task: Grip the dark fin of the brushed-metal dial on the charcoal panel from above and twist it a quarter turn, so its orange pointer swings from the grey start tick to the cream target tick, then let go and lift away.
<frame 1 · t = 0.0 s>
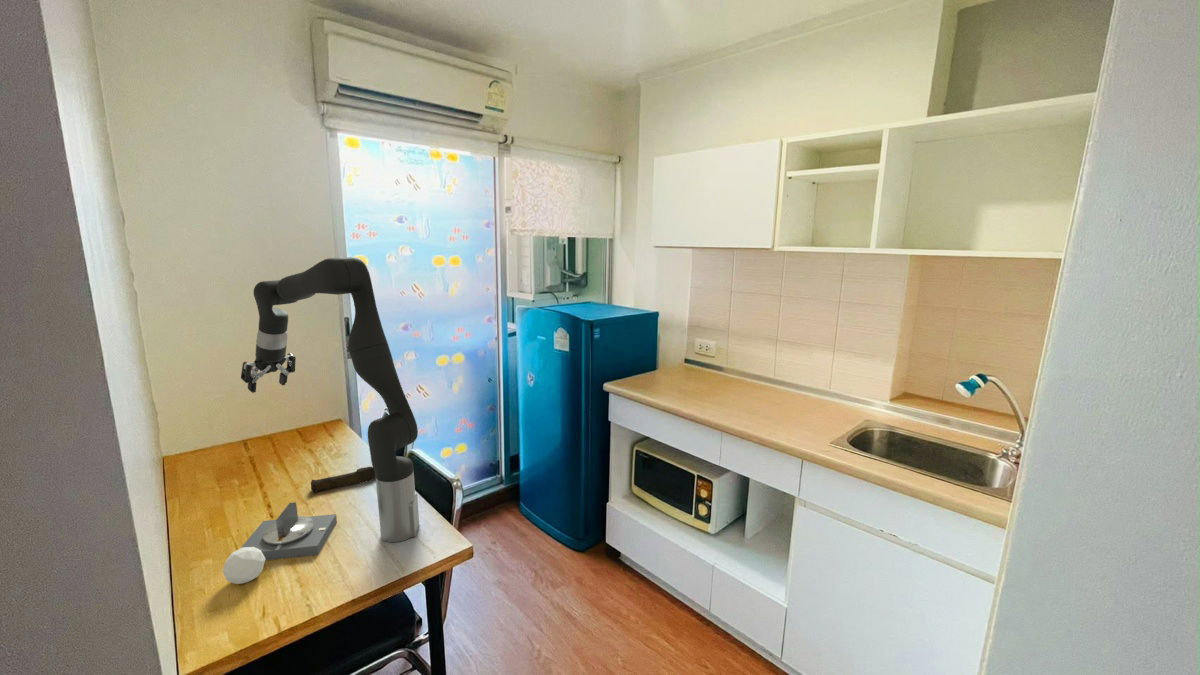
hand: (267, 387, 147), 31 cm above the table, tool tilted 20°, fingers open, 8 cm apart
hand tool: (346, 485, 152), on the table
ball: (246, 580, 110), on the table
dial knob: (287, 521, 122), point 6 cm above the table, hinge at 0.0°
dial panel: (290, 541, 123), on the table
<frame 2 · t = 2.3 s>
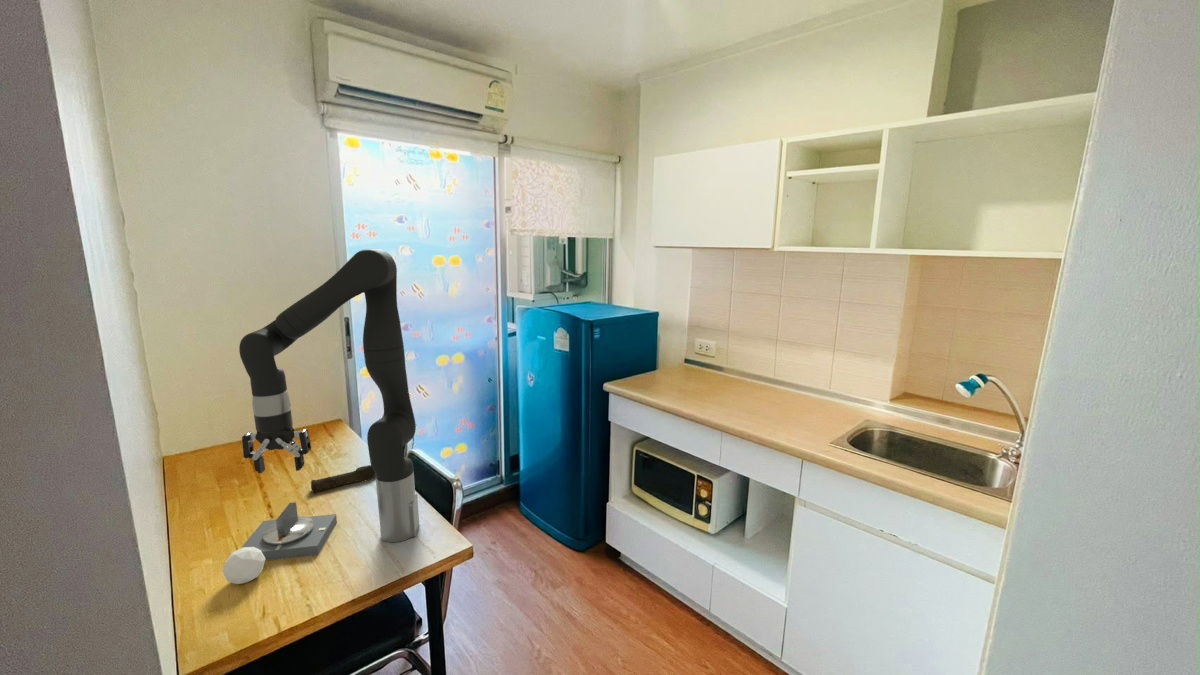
hand: (280, 470, 119), 20 cm above the table, tool pointing down, fingers open, 8 cm apart
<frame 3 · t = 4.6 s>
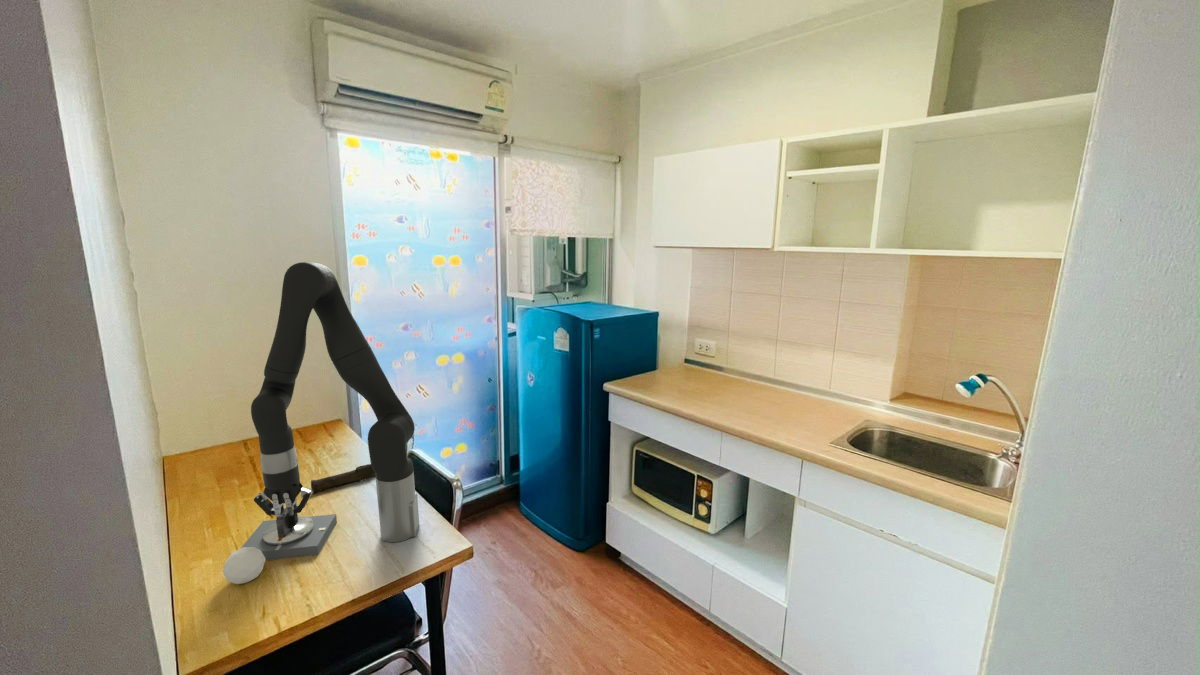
hand: (288, 526, 122), 4 cm above the table, tool pointing down, fingers closed
dial knob: (287, 521, 122), point 6 cm above the table, hinge at 0.0°, touching gripper
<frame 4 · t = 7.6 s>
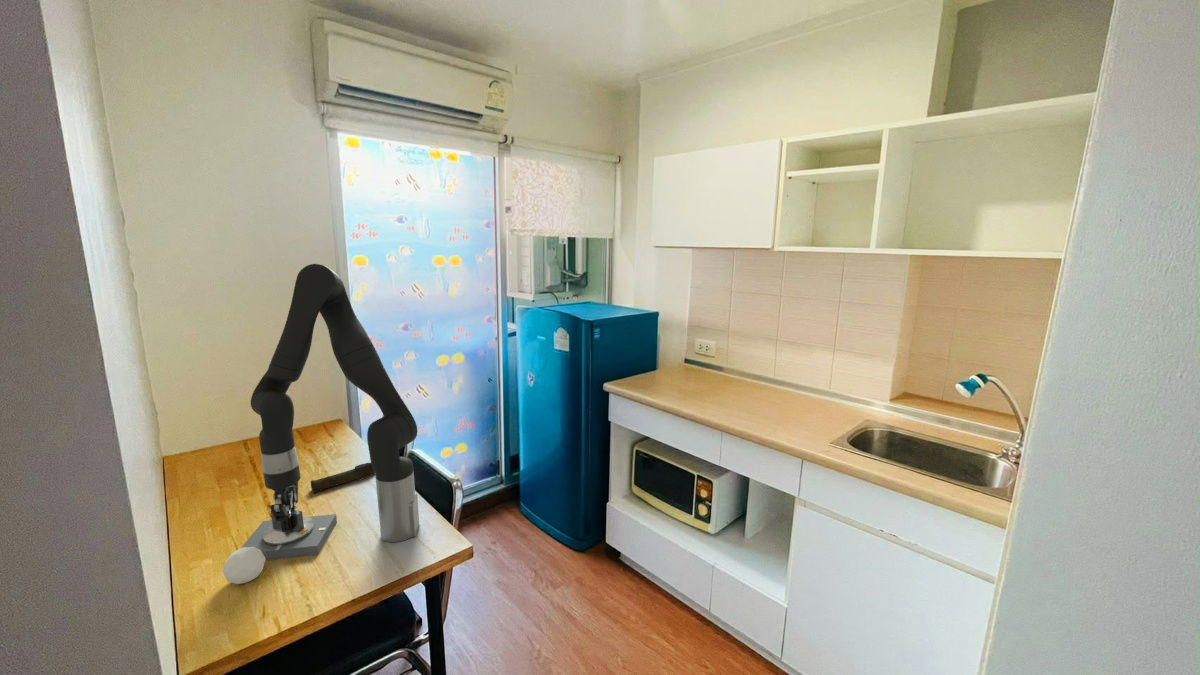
hand: (289, 526, 122), 4 cm above the table, tool pointing down, fingers closed on dial knob, 3 cm apart
dial knob: (287, 521, 122), point 6 cm above the table, hinge at 67.2°, touching gripper
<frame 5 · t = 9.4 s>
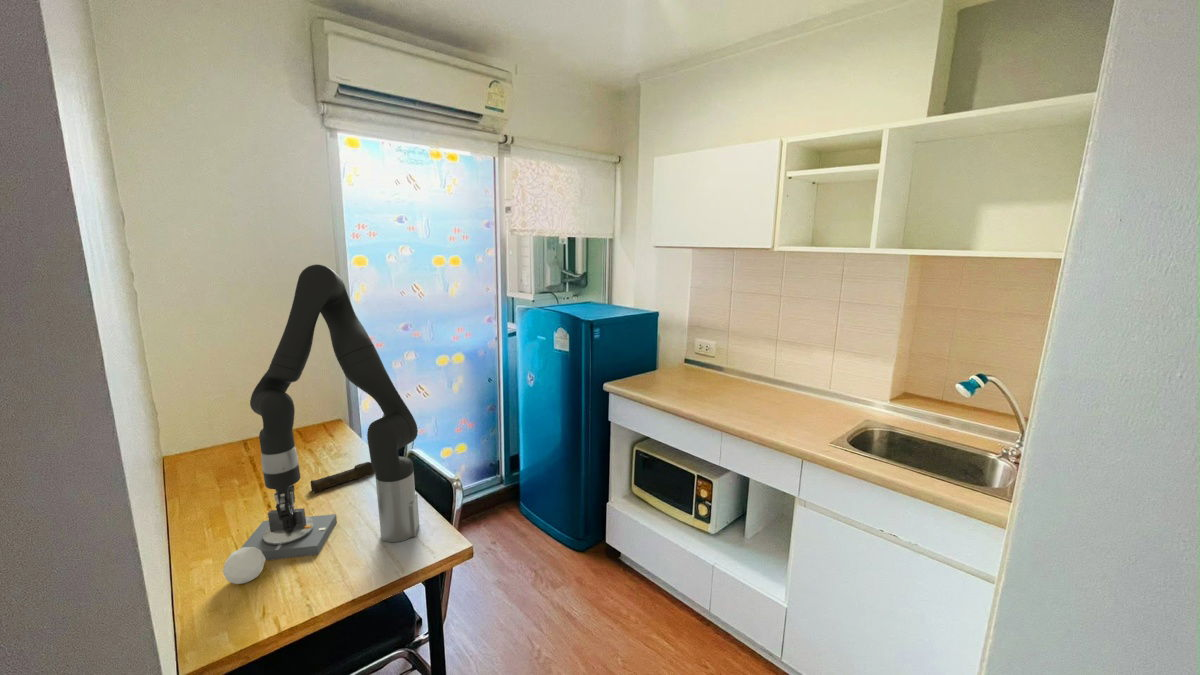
hand: (289, 526, 122), 4 cm above the table, tool pointing down, fingers closed on dial knob, 2 cm apart
dial knob: (287, 521, 122), point 6 cm above the table, hinge at 85.8°, touching gripper
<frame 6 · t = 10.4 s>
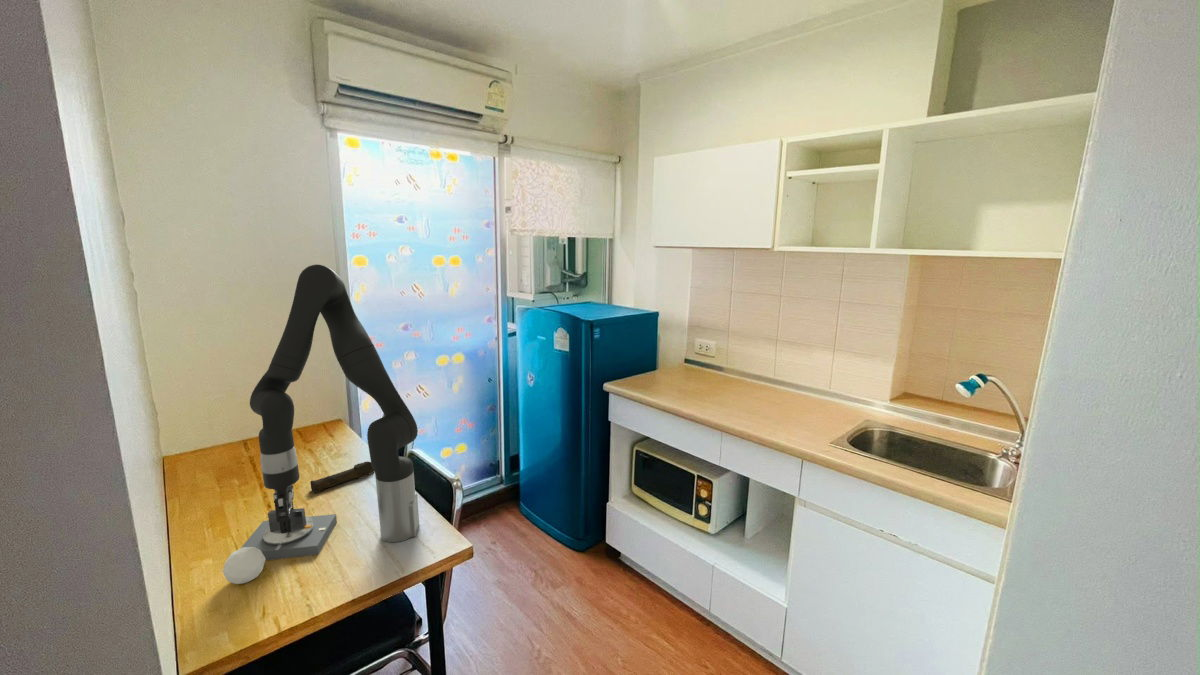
hand: (287, 523, 122), 5 cm above the table, tool pointing down, fingers open, 8 cm apart
dial knob: (287, 521, 122), point 6 cm above the table, hinge at 86.7°
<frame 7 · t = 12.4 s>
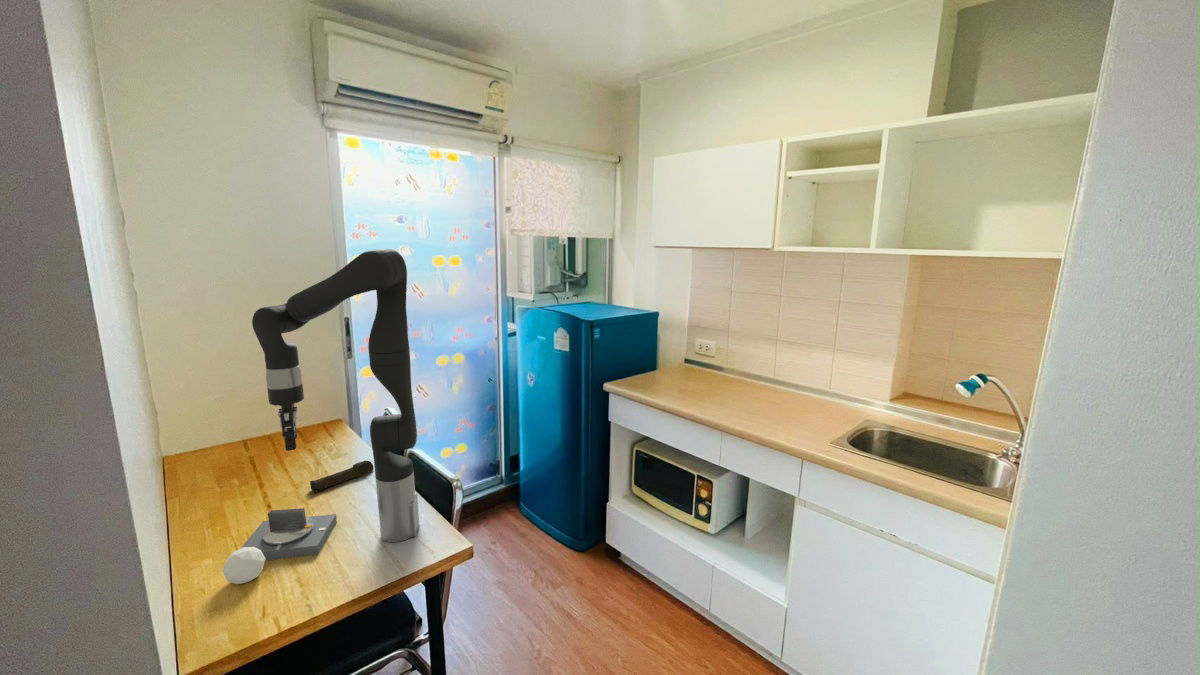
hand: (291, 444, 123), 25 cm above the table, tool pointing down, fingers open, 8 cm apart
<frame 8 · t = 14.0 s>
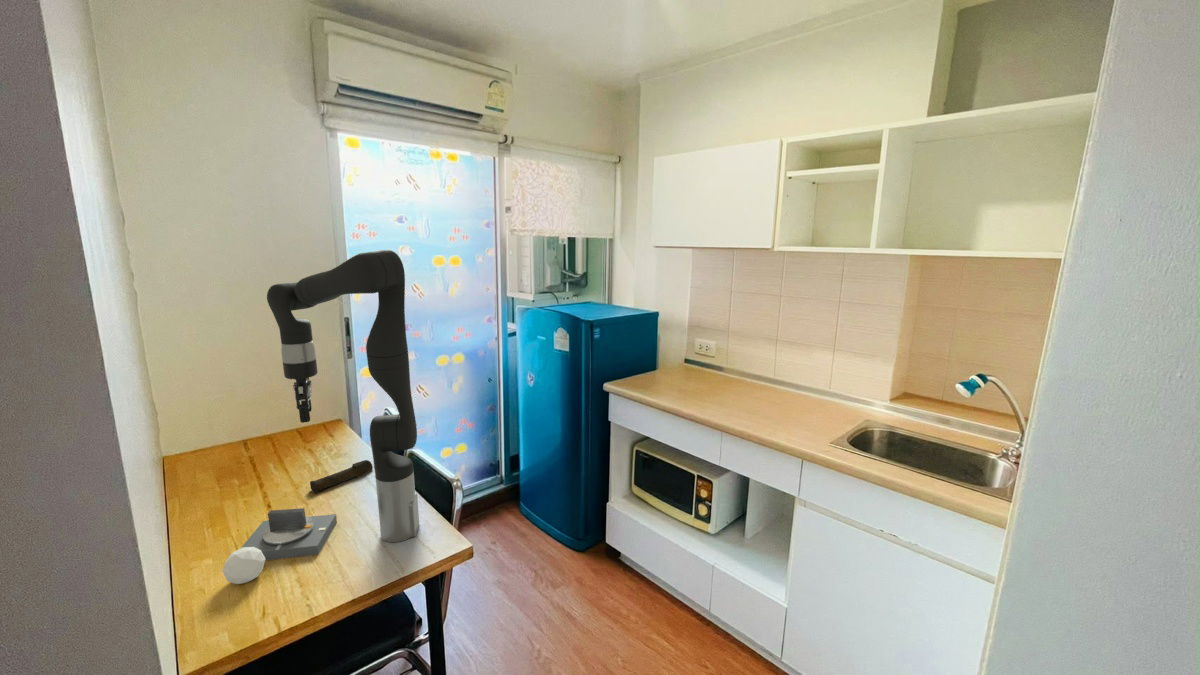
hand: (306, 416, 128), 30 cm above the table, tool pointing down, fingers open, 8 cm apart
at the end: dial knob at +87° (first picture: +0°); the gripper is holding nothing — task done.
